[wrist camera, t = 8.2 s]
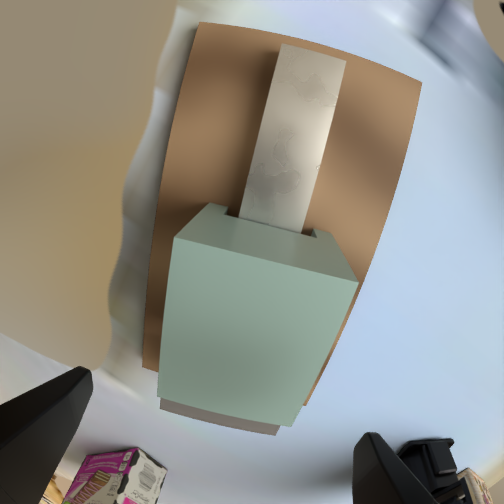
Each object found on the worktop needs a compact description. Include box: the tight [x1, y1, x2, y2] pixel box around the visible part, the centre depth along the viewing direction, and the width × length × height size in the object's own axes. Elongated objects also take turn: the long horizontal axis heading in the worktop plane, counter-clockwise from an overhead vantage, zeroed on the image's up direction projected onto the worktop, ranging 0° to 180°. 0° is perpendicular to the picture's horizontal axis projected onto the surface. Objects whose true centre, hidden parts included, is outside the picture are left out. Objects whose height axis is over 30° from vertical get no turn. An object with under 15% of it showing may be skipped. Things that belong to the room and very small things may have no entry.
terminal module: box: [157, 203, 359, 427], centre depth 15 cm, size 8×6×6 cm
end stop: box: [160, 398, 281, 436], centre depth 18 cm, size 2×7×4 cm, turn 77°
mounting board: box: [142, 22, 422, 406], centre depth 17 cm, size 22×12×1 cm, turn 167°
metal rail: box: [238, 43, 346, 234], centre depth 16 cm, size 20×3×2 cm, turn 167°
